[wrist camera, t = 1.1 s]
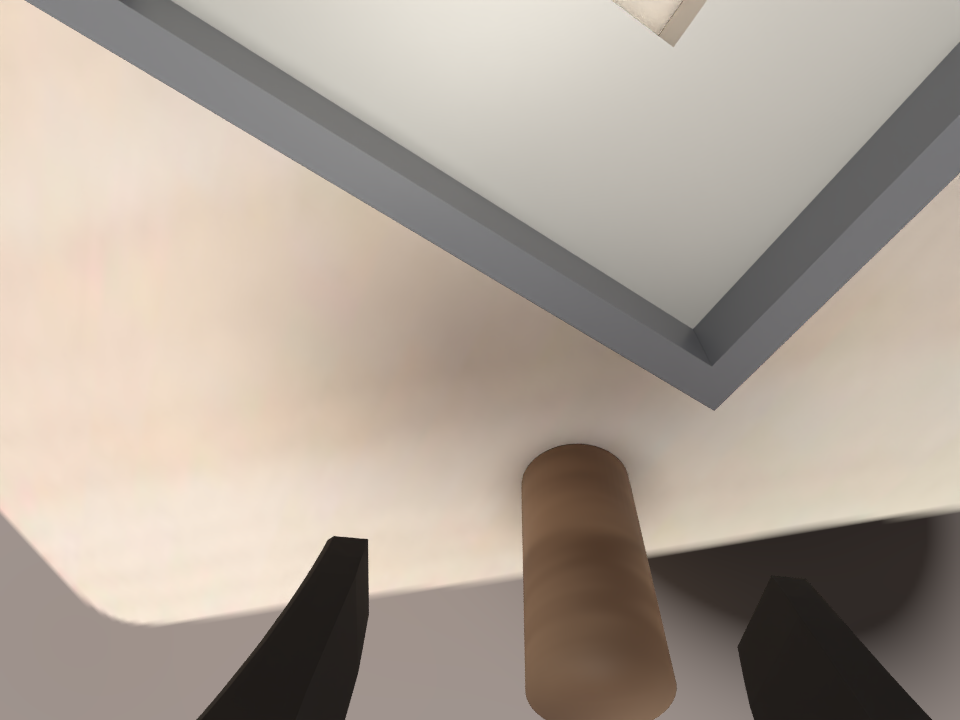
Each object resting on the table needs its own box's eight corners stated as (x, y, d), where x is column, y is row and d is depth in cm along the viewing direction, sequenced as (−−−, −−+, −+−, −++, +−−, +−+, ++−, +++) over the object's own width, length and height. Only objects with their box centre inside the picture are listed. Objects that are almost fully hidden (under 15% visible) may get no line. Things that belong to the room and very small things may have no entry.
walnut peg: (651, 474, 24) (708, 681, 17) (585, 538, 25) (613, 748, 19) (562, 426, 23) (585, 625, 16) (500, 496, 24) (497, 701, 18)
